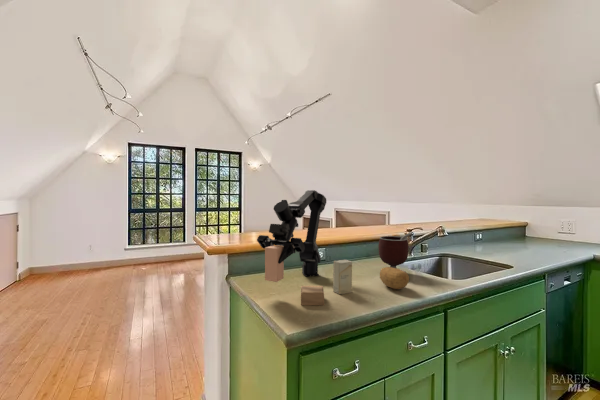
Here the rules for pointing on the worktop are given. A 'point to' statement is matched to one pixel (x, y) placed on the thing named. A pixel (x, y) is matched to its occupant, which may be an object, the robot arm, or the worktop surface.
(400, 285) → the potato
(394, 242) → the mate gourd
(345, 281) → the skincare box
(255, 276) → the worktop surface
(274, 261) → the block
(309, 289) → the plinth
